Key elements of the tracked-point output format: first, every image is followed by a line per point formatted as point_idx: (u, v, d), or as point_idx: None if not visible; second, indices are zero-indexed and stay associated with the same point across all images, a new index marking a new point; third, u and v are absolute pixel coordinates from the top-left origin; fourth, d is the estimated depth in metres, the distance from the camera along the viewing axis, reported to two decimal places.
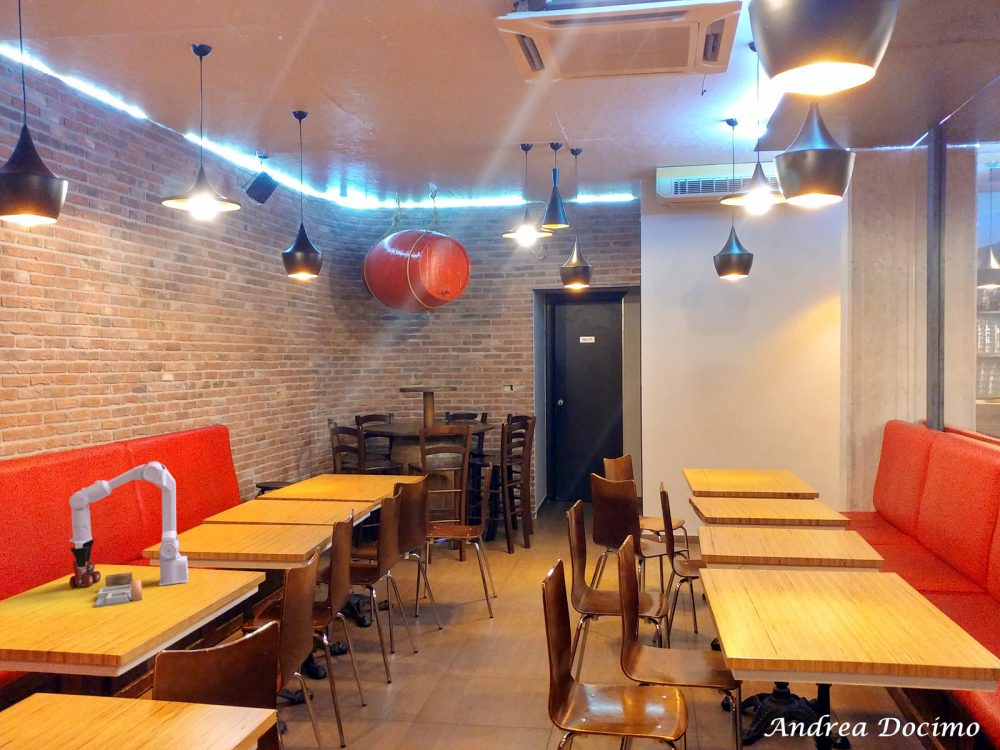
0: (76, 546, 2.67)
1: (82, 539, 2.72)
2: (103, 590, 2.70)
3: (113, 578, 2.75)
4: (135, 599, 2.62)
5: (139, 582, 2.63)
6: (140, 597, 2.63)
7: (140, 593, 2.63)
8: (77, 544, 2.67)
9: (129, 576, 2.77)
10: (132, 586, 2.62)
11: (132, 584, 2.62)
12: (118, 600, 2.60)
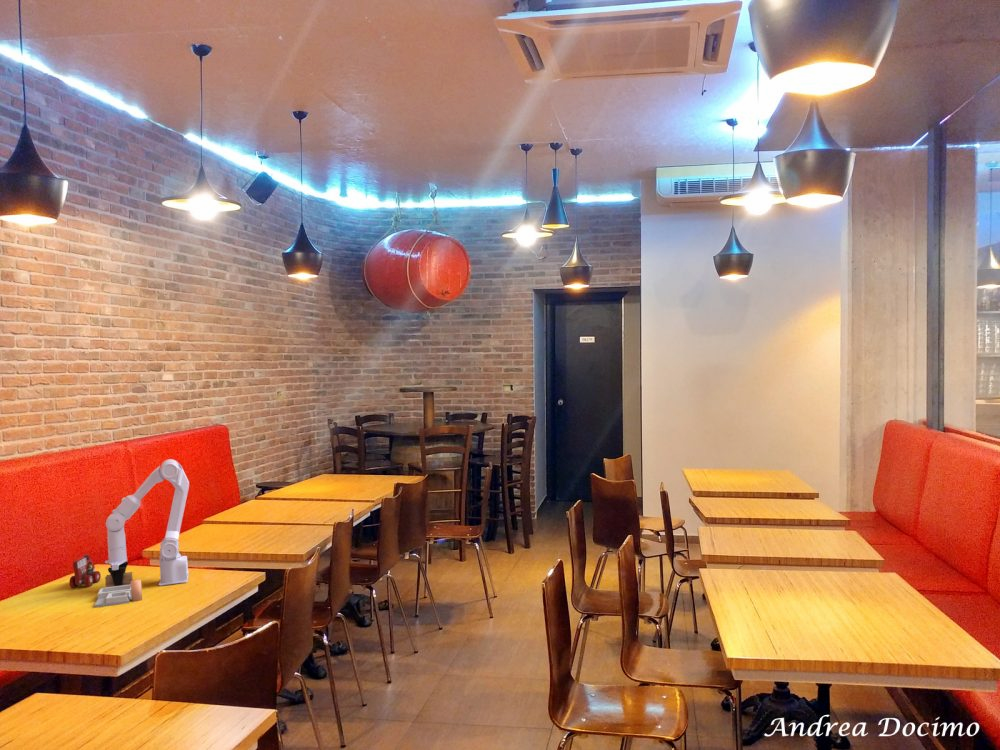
0: (113, 568, 2.70)
1: (118, 560, 2.74)
2: (103, 590, 2.70)
3: None
4: (135, 599, 2.62)
5: (139, 582, 2.63)
6: (140, 597, 2.63)
7: (140, 593, 2.63)
8: (113, 566, 2.70)
9: (129, 576, 2.77)
10: (132, 586, 2.62)
11: (132, 584, 2.62)
12: (118, 600, 2.60)
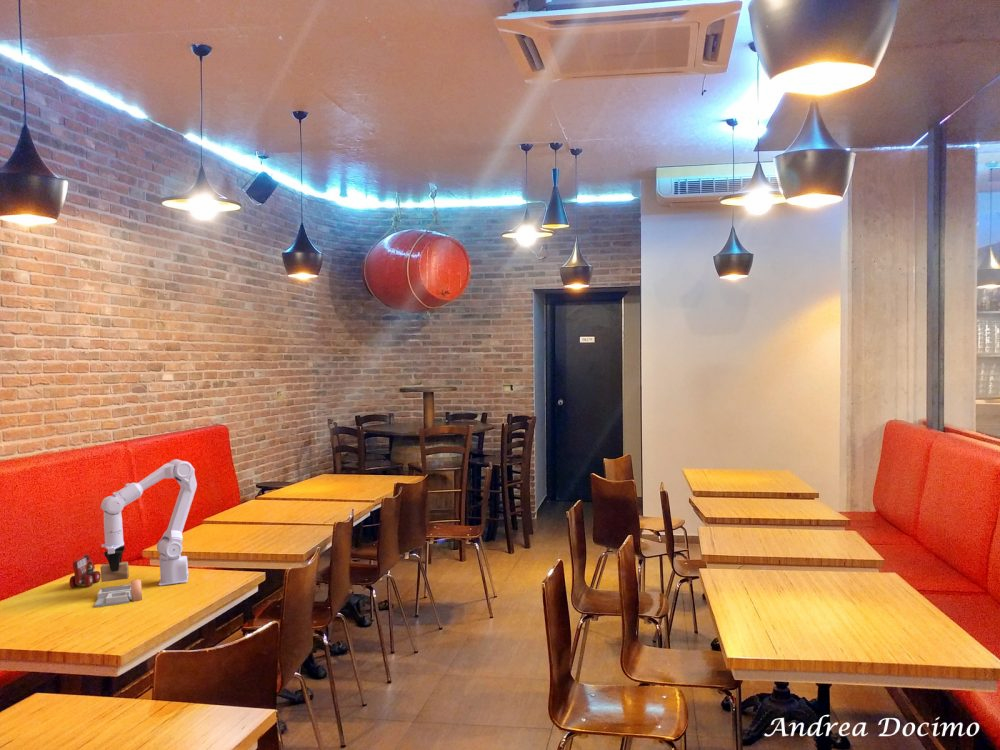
0: (108, 551, 2.64)
1: (114, 544, 2.69)
2: (103, 590, 2.70)
3: (108, 567, 2.69)
4: (135, 599, 2.62)
5: (139, 582, 2.63)
6: (140, 597, 2.63)
7: (140, 593, 2.63)
8: (109, 549, 2.64)
9: (125, 565, 2.71)
10: (132, 586, 2.62)
11: (132, 584, 2.62)
12: (118, 600, 2.60)
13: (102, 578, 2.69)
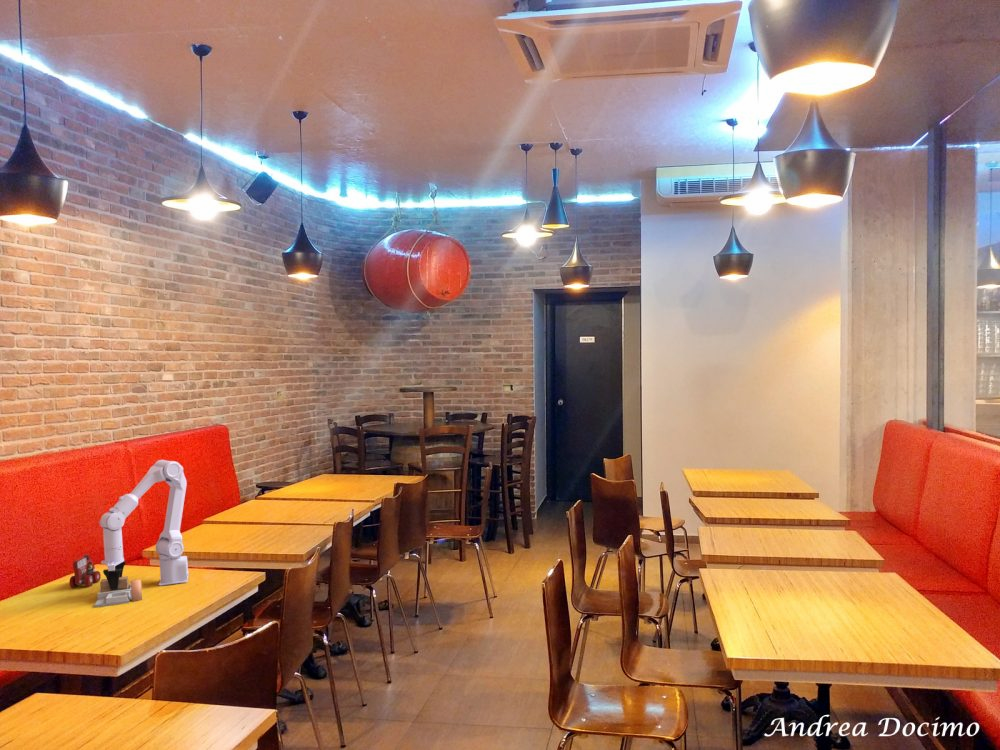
0: (109, 568, 2.61)
1: (114, 561, 2.66)
2: None
3: None
4: (135, 599, 2.62)
5: (139, 582, 2.63)
6: (140, 597, 2.63)
7: (140, 593, 2.63)
8: (110, 566, 2.61)
9: (125, 580, 2.68)
10: (132, 586, 2.62)
11: (132, 584, 2.62)
12: (118, 600, 2.60)
13: None
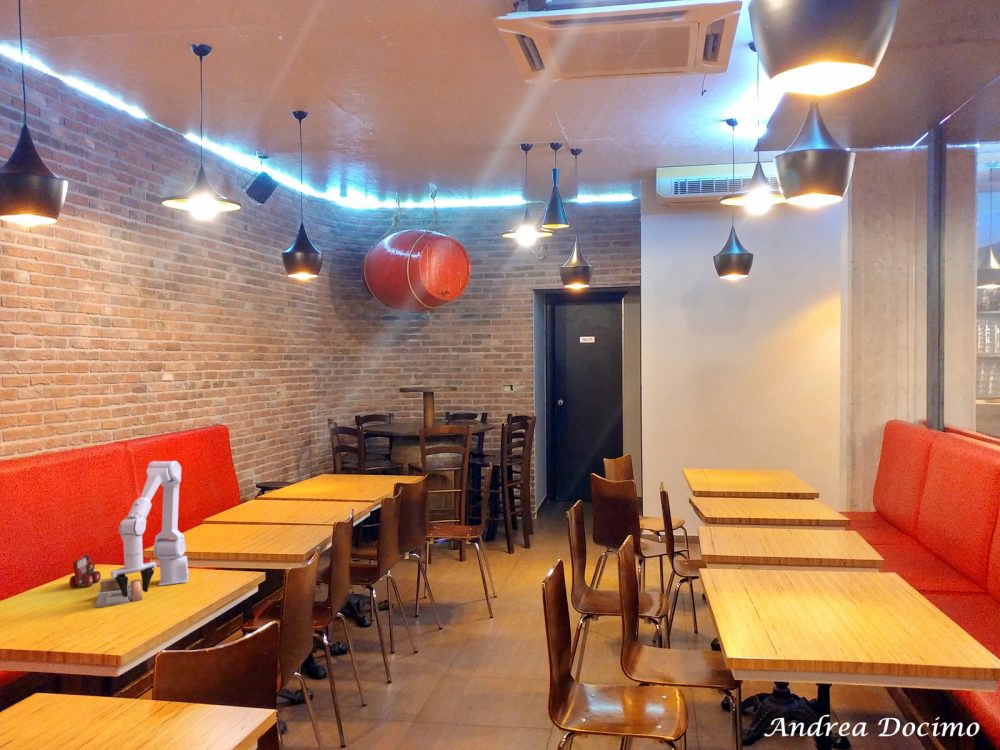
0: (111, 574, 2.58)
1: (126, 568, 2.61)
2: None
3: (108, 582, 2.66)
4: (135, 599, 2.62)
5: (139, 582, 2.63)
6: (140, 597, 2.63)
7: (140, 593, 2.63)
8: (111, 573, 2.58)
9: None
10: (132, 586, 2.62)
11: (132, 584, 2.62)
12: (118, 600, 2.60)
13: None
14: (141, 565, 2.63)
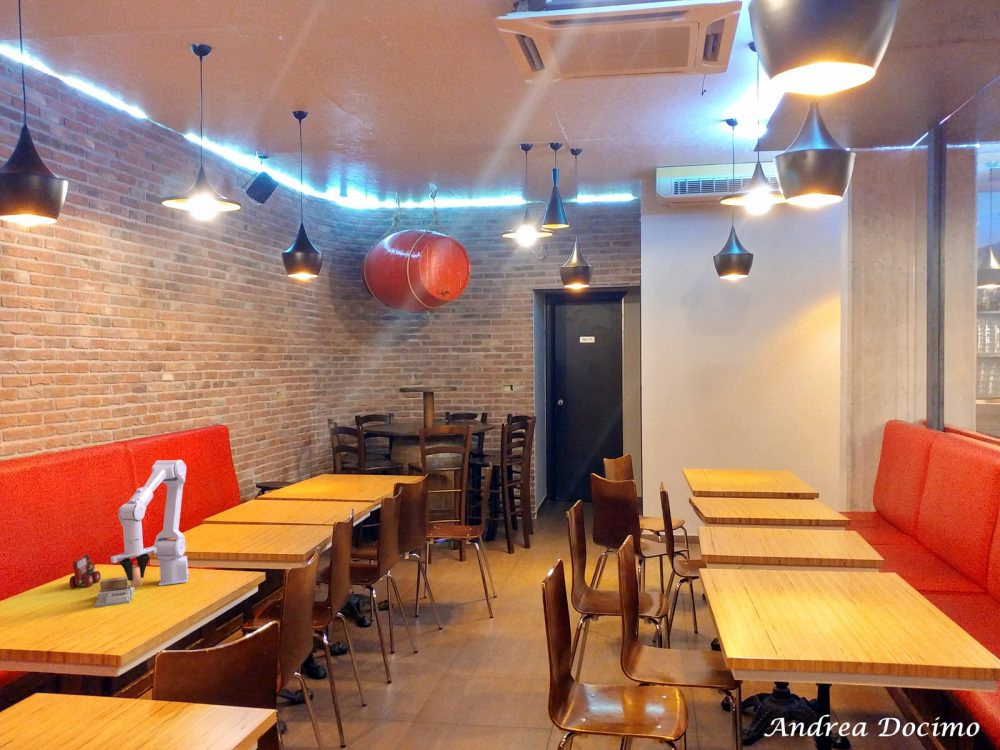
0: (111, 560, 2.58)
1: (126, 553, 2.61)
2: None
3: (108, 582, 2.66)
4: (134, 585, 2.62)
5: (138, 568, 2.63)
6: (139, 583, 2.63)
7: (139, 579, 2.63)
8: (111, 558, 2.58)
9: (125, 580, 2.68)
10: None
11: None
12: (118, 600, 2.60)
13: None
14: (141, 550, 2.63)
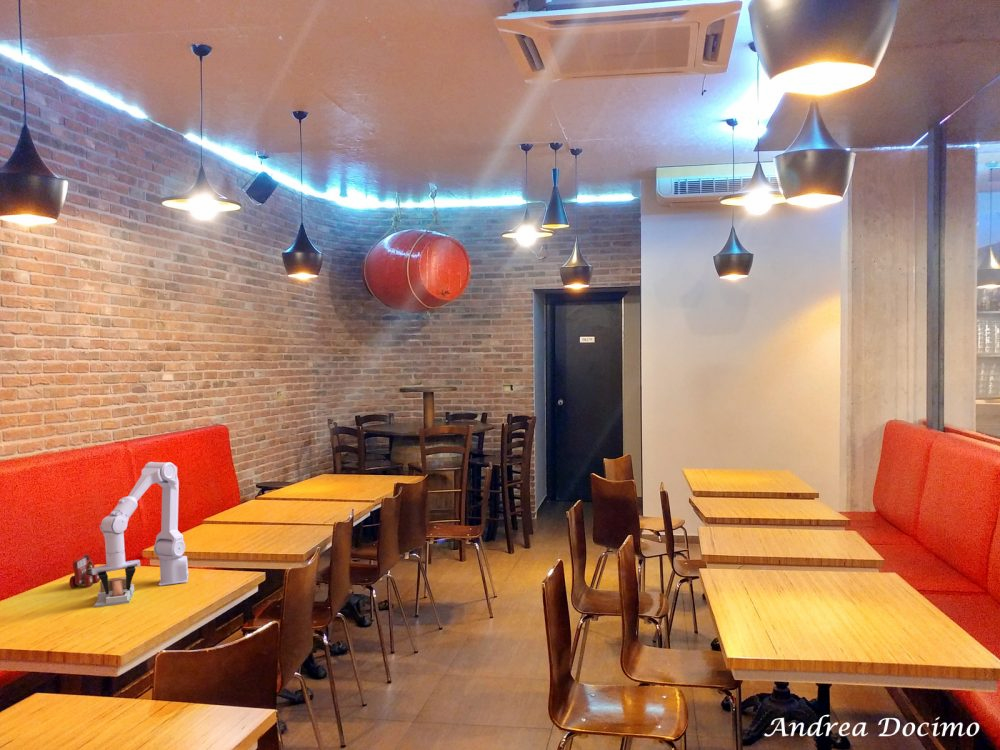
0: None
1: (107, 566, 2.60)
2: None
3: (108, 582, 2.66)
4: None
5: (119, 582, 2.62)
6: None
7: (121, 593, 2.62)
8: None
9: (125, 580, 2.68)
10: (112, 585, 2.61)
11: (112, 583, 2.61)
12: (118, 600, 2.60)
13: None
14: (122, 563, 2.61)
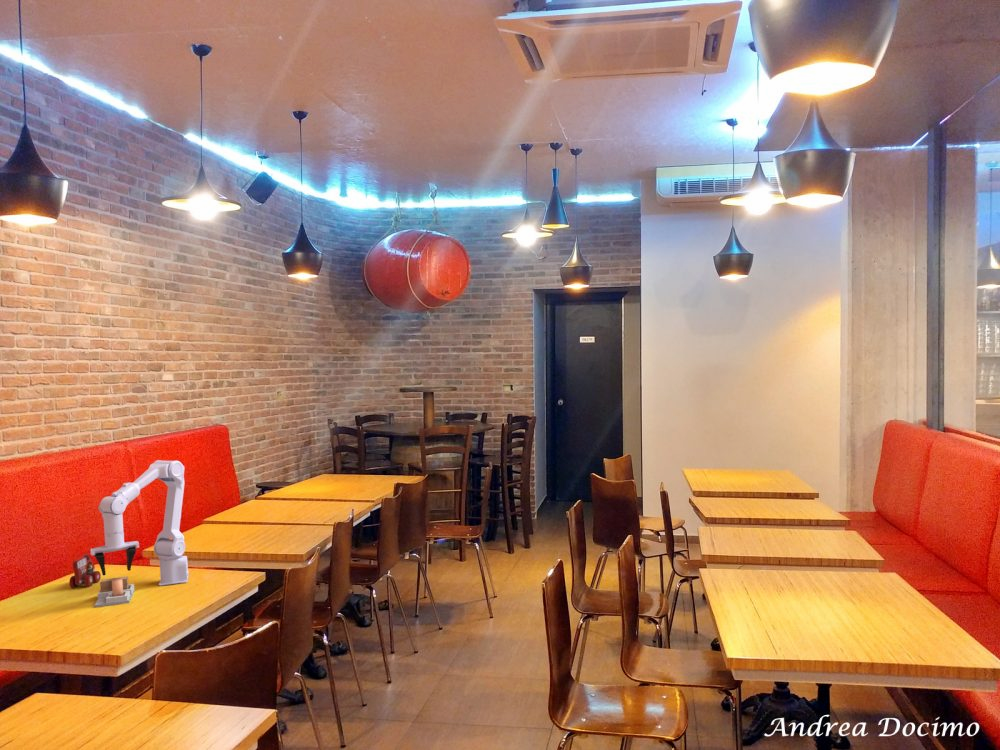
0: None
1: (105, 546, 2.60)
2: None
3: (108, 582, 2.66)
4: None
5: (119, 582, 2.62)
6: None
7: (121, 593, 2.62)
8: (90, 550, 2.58)
9: (125, 580, 2.68)
10: (113, 585, 2.61)
11: (112, 583, 2.61)
12: (118, 600, 2.60)
13: None
14: (120, 544, 2.61)
